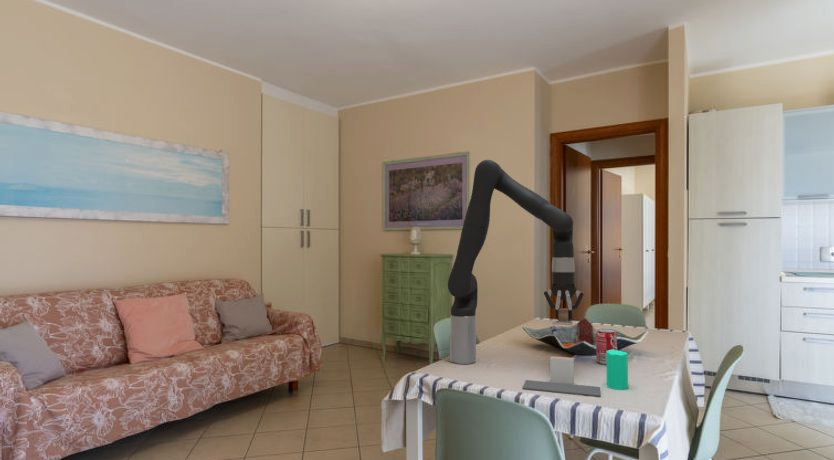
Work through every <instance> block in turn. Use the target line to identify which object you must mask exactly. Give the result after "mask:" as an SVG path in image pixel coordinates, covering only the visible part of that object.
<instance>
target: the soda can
mask: <svg viewBox="0 0 834 460" xmlns="http://www.w3.org/2000/svg"><path fill="white" fill-rule="evenodd" d="M595 347H596V348H595V349H596V350H595V352H596V353H595V354H596V356H595V357H596V361H597V362H598V363H599V364H601V365H603V366H607V365H606V351H608V350H617V351H618V337H617V334H616V331H615V330H614V329H612V328H599V329H597V333H596V335H595Z"/></svg>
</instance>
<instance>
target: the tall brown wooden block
mask: <svg viewBox="0 0 834 460" xmlns="http://www.w3.org/2000/svg"><path fill="white" fill-rule="evenodd" d="M552 325H555V326H556V325H560V326H573V321H571V320H570V321H568V308H566V307H564V308H560V307H559V310H558V319H557V320H553V321H552Z"/></svg>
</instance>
